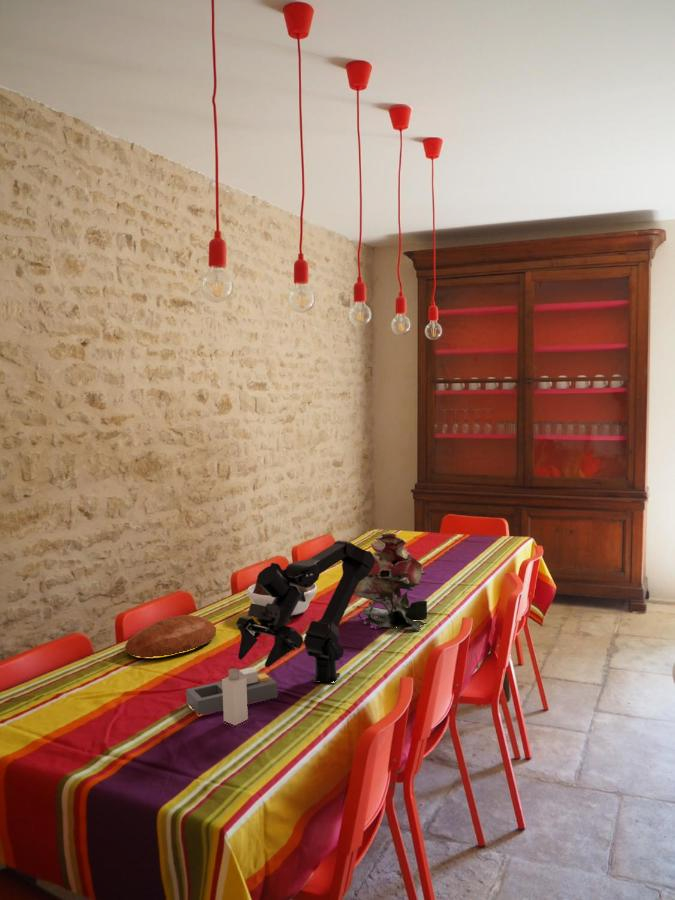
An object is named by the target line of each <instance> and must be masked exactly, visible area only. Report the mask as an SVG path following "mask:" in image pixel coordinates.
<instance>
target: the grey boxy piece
mask: <svg viewBox="0 0 675 900" xmlns="http://www.w3.org/2000/svg"><path fill="white" fill-rule="evenodd" d="M239 676H242V677H245V678H246V685H247V704H249V703H253V702H257V701H261V700H266V699H271V698H274V697H279V696H278V695H279V694H278V682H277V681H276V680H274V679H273V678H272V677H271V676H269V675H268V674H266V673H265V672H264V671H262V672H258V671H257V670H256V669H255V668H253V667H252V666H250V667H247V668H243V669H239ZM185 694H186V704H187V703H188V704H189V705H190V706H191V707H192V709H194V711H195V712H196V713H197V714H198V715H200V714H205V713H210V712H214V711H218V710H223V690H222V680H221V681H216V682H213V683H207V684H202V685H200V686H196V687H191V688H186V689H185Z"/></svg>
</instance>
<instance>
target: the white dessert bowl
mask: <svg viewBox="0 0 675 900" xmlns="http://www.w3.org/2000/svg"><path fill="white" fill-rule="evenodd" d="M292 586H293V585H292ZM295 587H296V588H297V589H298V590H300V591H304V596H305V599H306V601H305V602H301V601H298V603H297V605H296V607H295V609H294V611H293V613H292V615H291V616H292V617H293V616H296V615H299V614H302V613H304V612H305V611H306V610H307V609H309V608H308V607H309V605H310V602H311V601H312V600H313V599H314V597H315V596H316V595H317V592H318V586H317V584H316V583H314V584H313V585H312V586H311V587H309V588H304V587H299V586H295ZM246 594H247V597H248V598H249V599H250V601H251V602H252V603H253V604H257V605H262V606H266V605H267V604H268V603H269V604H272V602H273V600H274V599H275V597H271V596H270V595H269V594H268V593H267V592H266V591H265V590H264V589H263V588H262V587H261V586H260V585H259V583H258V582H257V580H256V581H255V583H253V584H252V585H250V586H248V588H247V590H246Z"/></svg>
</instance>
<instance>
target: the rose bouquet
mask: <svg viewBox="0 0 675 900" xmlns="http://www.w3.org/2000/svg"><path fill="white" fill-rule="evenodd" d="M375 540H376V541H373V542H371V544H370V547H371V548H372V550H373V551H374V552H373V553H372V554H373V557H374V559H375V563H374V566H373V568H372V570H371V571H370V573H369V574H368V576H366V577H365V578H364V579H362V580H361V581H360V582H359V583H358V585H357V587H356V589H355V591H354V593H353V595H352V596H354V597H355V596H356V597H358V598H362V599H365V600H366V599H367V600H370V602H368V604H367V605H368V606H369V607H366V608H364V609H363V610H362V612H364V613H363V615H367V616H368V618H366V619H365V620H364V621H366V622H367V623H372V624H373V623H374V624H376V625H378V626H376V627H377V629H379V628H389V629H400V626H397V625H395V624H394V623H395V621H396V620H397V618H401V619H402V618H403V620H405V622H406V623H407V624H409V625H410V626H409V627H405V628H404V629H405V630H412V631H416V632H419V630H421V629H420V628H421V627H422V626H421V627H420V625H424V624H427V625H428V623H427V622H426V623H423V622H421V621H413V620H424V619H425V620H426V618H427V617H428V601H427V600H425V599H423V600H417V601H413V602H411V603H410V601H409V599H408V592H418V591H416V590H414V589H412V588H415V587H417V586H419V585H420V580H421V579H422V575H423V576H424V575H427V573H426V572H424V571H423V570H424V569H423V565H422V563H421V562H420V561H418V560H417V559H416V558H415V557H414V556H413V554H411V553H410V552H409V549H408V548H406V546H405V545H406V544H407V543H408V541H407V540H405V539H403V538H400V537H398V536H397V533H391V532H388V533H387V532H386V533H384V534H383V533H382V534H381V533H380V534H378V535H377V536H376V537H375ZM423 584H424V583H421V585H423ZM401 590H406V592H405V593H404V594H403V595H402V591H401ZM427 590H428V589H426V591H427ZM401 595H402V596H401ZM377 603H378V604H382V605H383V607H384V608H379V607H378V608H377V607H375V606H376V604H377ZM409 604H410V605H409ZM374 616H378V618H374ZM363 617H364V616H363ZM379 617H380V618H379ZM364 621H363V622H364ZM396 627H397V628H396Z"/></svg>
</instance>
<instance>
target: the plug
mask: <svg viewBox="0 0 675 900" xmlns="http://www.w3.org/2000/svg"><path fill="white" fill-rule="evenodd" d="M239 670H240V669H239V668H237V667H236V668H235V667H234V668H231V669H228V676H227V677H225V678H222V679H221V681H222V690H223V722H224V721H226V722H228V723H231V724H233V725H237V724H239V723H241V722H243V721H245V720H247V719H248V720H249V714H248V712H249V711H248V706H247V685H246V678H245V677H242V676H239Z"/></svg>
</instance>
